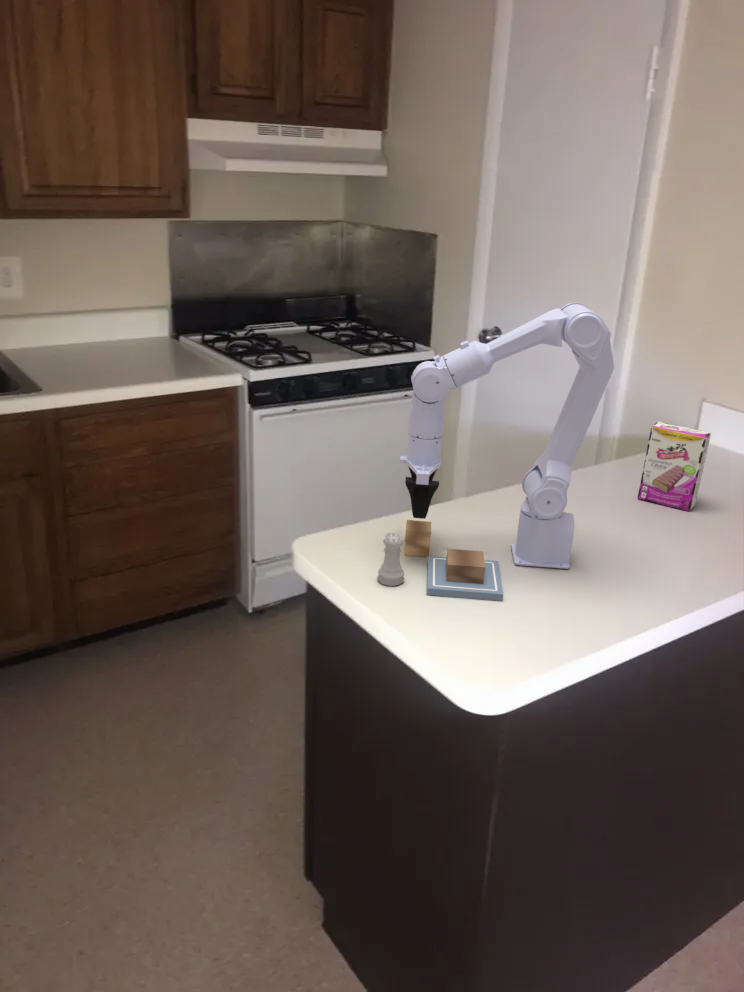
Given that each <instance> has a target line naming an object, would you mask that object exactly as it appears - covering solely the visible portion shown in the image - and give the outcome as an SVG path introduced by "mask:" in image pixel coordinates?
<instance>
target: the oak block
mask: <svg viewBox="0 0 744 992" xmlns="http://www.w3.org/2000/svg"><path fill="white" fill-rule="evenodd" d="M405 525H406V526H405V535H404V537H405V538H404V549H403V550H404V552H403V556H405V557H414V556H417V558H427V557H428V556H430V551H431V550H430V549H431V540H432V539H431V538H432V521H425V520H414V519H413V520H412V519H406V523H405Z"/></svg>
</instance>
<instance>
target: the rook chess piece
mask: <svg viewBox="0 0 744 992" xmlns="http://www.w3.org/2000/svg"><path fill="white" fill-rule="evenodd" d="M382 540H383V541H382V542H383V544H384V545H385V548H384V549H383V551H384V559H383V562H382V564H381V565H380V568H379V569H378V571H377V572H378V573H377V574H378V575H377V580H378V582H379V583H381V584H382V585H384V586H387V587H395V586H396V587H397V586H399V585H401V584H402V583H403V582H404V581H405V577H404V576H405V572H404V569H403V567H402V564H401V558H400V557H401V552H402V549H401V546H403V544H404V541H403V539H402V536H401V535H400V534H398V533H397V534H396V533H394V532H392V533H387V534H386V535H385V538H384V539H382Z"/></svg>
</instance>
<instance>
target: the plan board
mask: <svg viewBox="0 0 744 992" xmlns="http://www.w3.org/2000/svg"><path fill="white" fill-rule="evenodd" d="M484 554H485V553H484V551H483V550H470V549H469V550H468V549H458V548H447V549H446V556H437V555H429V556H428V558H427V575H426V576H427V579H426V580H427V581H426V596H433V597H435V596H436V597H444V598H445V597H448V598H457V599H458V598H460V599H473V600H485V601H497V602H498V601H499V602H503V598H504V589H503V585H502V578H501V570H500V564H499V560H490V559H485V555H484Z"/></svg>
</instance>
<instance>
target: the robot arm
mask: <svg viewBox="0 0 744 992" xmlns="http://www.w3.org/2000/svg"><path fill="white" fill-rule="evenodd" d="M611 335H612V333H611V330H610V329H609V328H608V326H607V324H606V322H605V320H604V319H603V318H602V317H601V315H599V314H598V313H596V312H595V311H592V310H591V308H589V307H588V306H587V305H585V304H584V303H581V302H569V303H567V304H565V305H563V306H562V307H561V308H559V307H557V308H555V309H551V310H549V311H546V312H545V313H543V314H541V315H540V316H537V317H535V318H534V319H532V320H530V321H527V322H526V323H524V324H522V325H520V326H518V327H516V328H514V329H512V330H511V331H509V332H508V331H507V333H505V334H503V335H501V336H499V337H497V338H494V339H493V340H491V341H489V342H487V343H484V342H480V341H478V340H474V341H471V342H469V341H468V340H465V341H462V342H460V343H459V344H460V347H459V348H457V349H454V350H452V351H450V352H448V353H445V354H444V355H441V356H440V354H437V355H434V356H433V360H434V361H433V360H432V361H430V360H425V361H423V362H421V363H419V364H418V365H417V366H416V367H415V369H414V370H413V371H412V375H410V379H411V380H410V381H411V384H412V389H413V392H412V395H411V405H410V409H409V412H410V413H409V424H408V426H409V427H408V439H407V441H408V442H407V454H406V455H400V457H399V463H400V464H406V465H407V467H408V469H409V472H410V477H409V476H406V477H405V482H404V483H405V486H406V488H407V491H408V493H409V498H410V503H411V505H410V506H411V512H412V517H413V518H414V519H421V520H424V519H426V518H427V515H428V513H429V508H430V505H431V501H432V500H433V496H434V494H435V493H436V491H437V490H438V488H439V487H440V481H439V480H433V479H434V476H435V474H436V472H437V470H438V469H439V468H440V467H441V466H442V462H443V461H442V447H443V436H444V434H443V433H444V424H445V414H446V413H445V412H446V409H445V398H446V397H447V395H448V394H449V391H450V390H456V389H457V388H460V387H462V386H464V385H466V384H468V383H472V382H474V381H475V380H478V379H479V378H482V377H483V376H486V375H489V374H490V372H491V370H492V368H493V365H494V364H495V363H496V362H499V361H501V360H504V359H506V358H509V357H512V356H513V355H516V354H518V353H521V352H523V351H526V350H528V349H530V348H533V347H535V346H538V345H541V344H542V345H546V346H547V345H548V346H553V347H557V348H558V347H560V348H562V347H563V342H564V343H566V344H567V345H568V346H569V348H570V349H571V352H572V353H573V356H574V358H575V360H576V362H577V364H578V370H577V373H576V376H575V377H574V380H573V383H572V385H571V387H570V390H569V392H568V394H567V397H566V399H565V400H564V404H563V406H562V409H561V411H560V414H559V415H558V418H557V420H556V423H555V425H554V427H553V429H552V432H551V435H550V437H549V440H548V442H547V445H546V446H545V450H544V452H543V453H542V454H540V455H539V456H538V457H537V458H536V461H535V463H534V464H533V466H532V467H531V468H530V469H529V470H528V471H527V472H526V473H525V474H524V476H523V478H522V482H521V485H522V486H521V488H522V490H523V492H524V494H525V495H526V497H525V499H524V501H523V502H522V504H521V505H520V509H519V510H520V512H519V519H518V525H517V535H516V542H515V543H511V545H510V547H511V551H512V554H511V555H512V557H513V562H514V565H516V566H526V567H539V568H551V569H552V568H553V569H562V570H563V569H564V570H566V569H567V570H568V569H570V567H571V565H570V561H571V555H572V550H573V549H572V548H573V542H574V537H575V536H574V534H575V517H574V516H575V515H574V514H573V513H572V512H567V511H565V510H566V508H567V505H568V489H569V488H570V485H571V475H572V466H573V464H574V462H575V459H576V457H577V455H578V452H579V451H580V448H581V445H582V443H583V441H584V438H585V437H586V434H587V431H588V429H589V427H590V424H591V423H592V421H593V418H594V416H595V413H596V411H597V409H598V407H599V404H600V402H601V400H602V397H603V395H604V393H605V391H606V389H607V385H608V384H609V382H610V379H611V377H612V375H613V371H614V368H615V363H614V357H613V351H612V343H611ZM562 341H563V342H562Z"/></svg>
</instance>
